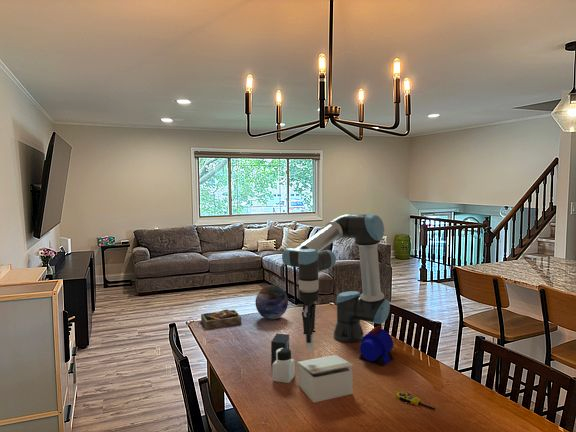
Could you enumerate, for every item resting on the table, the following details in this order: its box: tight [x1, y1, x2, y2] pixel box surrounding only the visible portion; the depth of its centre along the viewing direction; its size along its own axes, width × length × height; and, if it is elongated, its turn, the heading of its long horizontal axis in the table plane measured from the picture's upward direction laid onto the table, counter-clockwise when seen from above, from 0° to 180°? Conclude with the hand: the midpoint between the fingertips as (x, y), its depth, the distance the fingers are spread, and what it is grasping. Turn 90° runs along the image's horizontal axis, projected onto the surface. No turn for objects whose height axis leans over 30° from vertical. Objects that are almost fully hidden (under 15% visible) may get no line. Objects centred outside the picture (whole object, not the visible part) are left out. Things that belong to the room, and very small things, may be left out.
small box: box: [270, 333, 290, 365], centre depth 188 cm, size 11×6×10 cm, turn 168°
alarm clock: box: [359, 324, 395, 367], centre depth 187 cm, size 12×12×15 cm
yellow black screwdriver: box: [395, 391, 436, 411], centre depth 151 cm, size 5×2×15 cm
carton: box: [297, 363, 353, 403], centre depth 161 cm, size 16×14×9 cm
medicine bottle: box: [272, 348, 296, 384], centre depth 171 cm, size 7×7×12 cm
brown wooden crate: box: [205, 309, 238, 321], centre depth 242 cm, size 11×16×5 cm
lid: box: [297, 354, 354, 374], centre depth 160 cm, size 17×14×1 cm
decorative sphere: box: [255, 284, 289, 321], centre depth 247 cm, size 19×20×20 cm
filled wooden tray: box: [200, 309, 242, 329], centre depth 242 cm, size 20×15×4 cm
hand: (309, 349), depth 163 cm, fingers closed
